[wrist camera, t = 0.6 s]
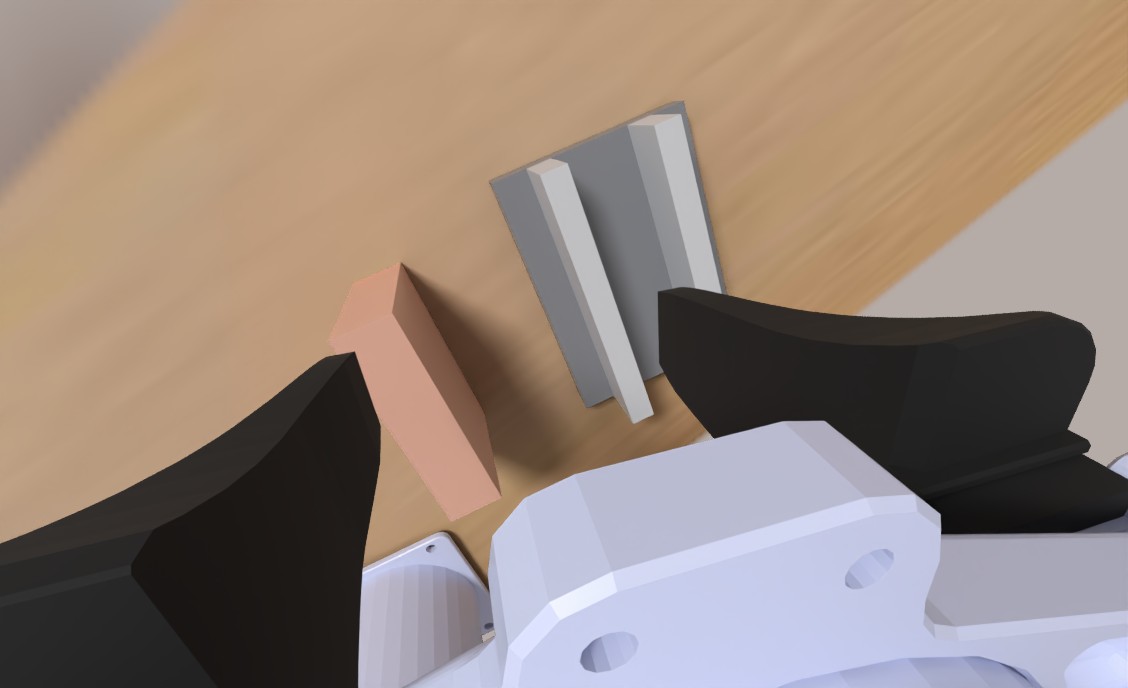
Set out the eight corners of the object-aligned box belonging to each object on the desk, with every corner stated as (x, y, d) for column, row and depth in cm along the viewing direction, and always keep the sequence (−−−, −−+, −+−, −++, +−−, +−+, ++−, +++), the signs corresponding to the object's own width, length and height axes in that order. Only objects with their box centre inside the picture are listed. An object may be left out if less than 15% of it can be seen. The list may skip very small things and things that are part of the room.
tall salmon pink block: (445, 430, 23) (451, 521, 18) (353, 282, 20) (327, 341, 14) (484, 412, 23) (502, 497, 18) (400, 261, 20) (391, 312, 14)
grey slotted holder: (581, 398, 24) (604, 438, 21) (488, 181, 19) (500, 192, 16) (725, 330, 25) (768, 359, 22) (672, 101, 20) (717, 97, 17)
